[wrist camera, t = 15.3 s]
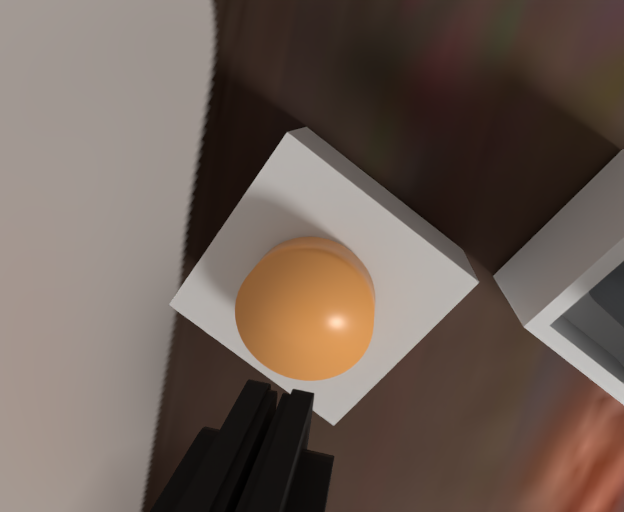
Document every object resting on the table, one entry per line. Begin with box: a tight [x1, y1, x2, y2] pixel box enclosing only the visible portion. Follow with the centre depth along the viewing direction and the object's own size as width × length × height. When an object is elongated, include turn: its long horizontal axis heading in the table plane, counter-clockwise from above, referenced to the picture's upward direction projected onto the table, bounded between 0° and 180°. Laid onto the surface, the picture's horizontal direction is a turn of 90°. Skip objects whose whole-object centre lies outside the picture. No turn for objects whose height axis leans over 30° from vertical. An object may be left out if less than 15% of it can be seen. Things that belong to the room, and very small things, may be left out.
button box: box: [169, 127, 479, 425], centre depth 20 cm, size 9×9×4 cm
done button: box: [235, 237, 375, 381], centre depth 17 cm, size 5×5×2 cm
